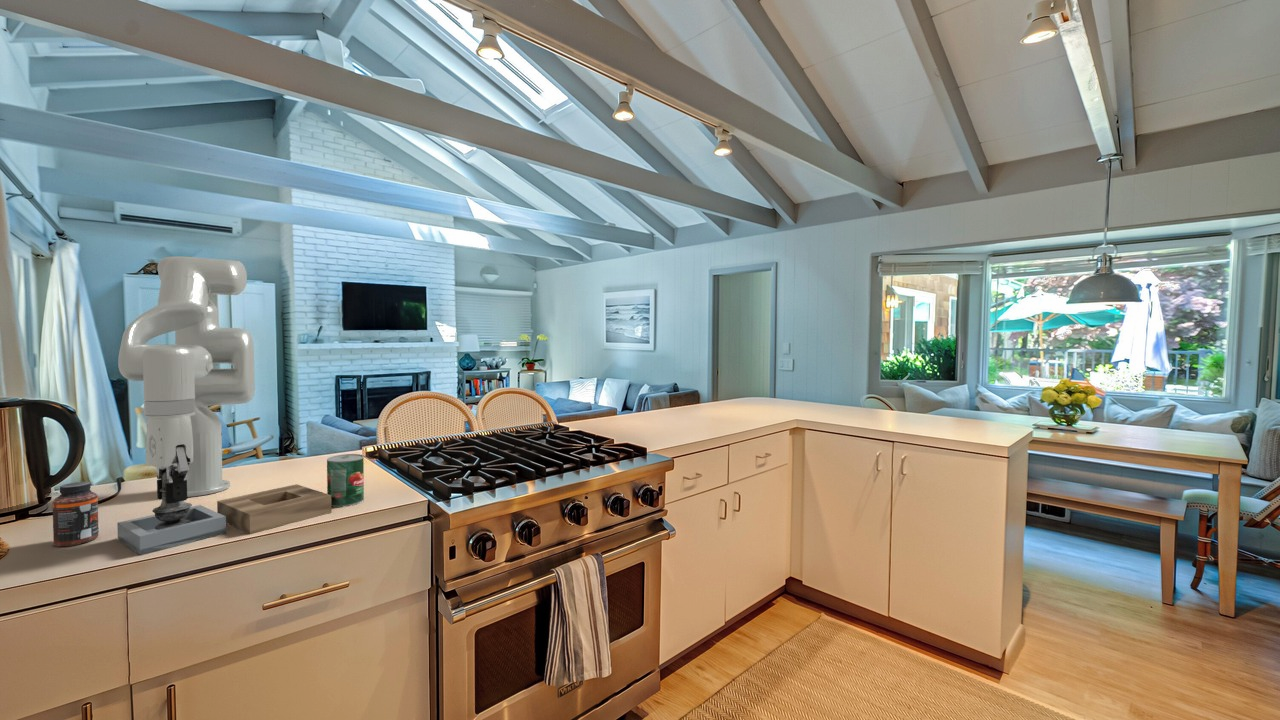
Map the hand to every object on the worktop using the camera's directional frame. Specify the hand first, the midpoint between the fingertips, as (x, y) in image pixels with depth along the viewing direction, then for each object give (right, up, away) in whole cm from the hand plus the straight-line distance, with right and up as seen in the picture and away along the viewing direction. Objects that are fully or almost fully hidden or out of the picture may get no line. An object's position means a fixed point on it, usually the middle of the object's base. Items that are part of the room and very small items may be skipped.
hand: (172, 498), depth 103 cm
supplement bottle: (-16, -8, -3) cm, 18 cm away
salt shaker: (0, -5, 0) cm, 5 cm away
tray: (0, -8, 0) cm, 8 cm away
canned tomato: (+21, -7, +23) cm, 32 cm away
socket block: (+12, -7, +13) cm, 19 cm away
